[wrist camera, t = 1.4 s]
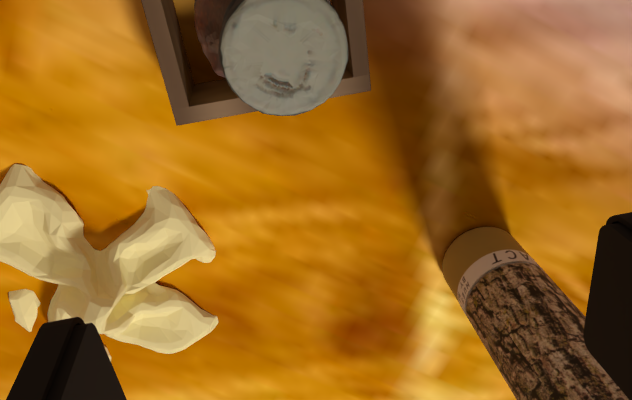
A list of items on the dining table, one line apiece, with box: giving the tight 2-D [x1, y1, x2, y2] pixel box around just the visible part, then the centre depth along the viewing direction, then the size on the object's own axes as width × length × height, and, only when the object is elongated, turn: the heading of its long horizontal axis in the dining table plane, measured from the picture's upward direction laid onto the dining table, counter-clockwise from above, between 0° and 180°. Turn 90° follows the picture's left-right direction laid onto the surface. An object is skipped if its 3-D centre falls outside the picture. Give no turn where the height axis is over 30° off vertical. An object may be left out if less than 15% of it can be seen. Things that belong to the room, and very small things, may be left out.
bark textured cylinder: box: [442, 227, 629, 400], centre depth 35 cm, size 7×7×25 cm
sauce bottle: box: [194, 0, 349, 116], centre depth 25 cm, size 7×6×20 cm
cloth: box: [0, 164, 218, 362], centre depth 40 cm, size 22×19×6 cm
